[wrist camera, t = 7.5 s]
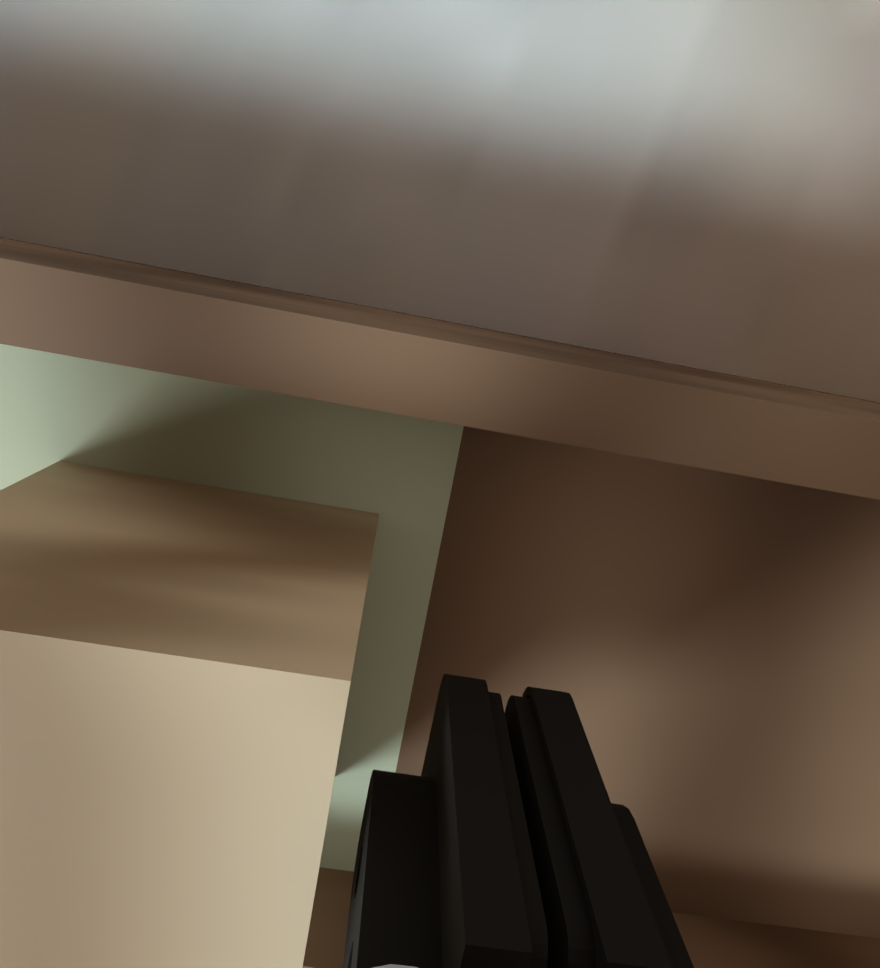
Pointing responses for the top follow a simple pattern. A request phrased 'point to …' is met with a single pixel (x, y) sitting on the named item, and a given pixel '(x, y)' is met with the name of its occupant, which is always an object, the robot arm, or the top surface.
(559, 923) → the robot arm
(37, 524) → the maple block
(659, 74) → the top surface
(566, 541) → the tray
